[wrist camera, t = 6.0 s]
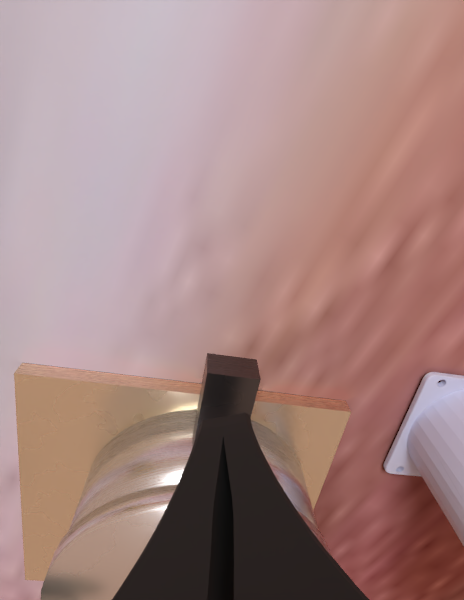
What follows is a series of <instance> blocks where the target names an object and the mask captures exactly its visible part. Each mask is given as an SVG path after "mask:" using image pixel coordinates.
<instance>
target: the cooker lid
mask: <svg viewBox="0 0 464 600" xmlns="http://www.w3.org/2000/svg"><path fill="white" fill-rule="evenodd" d="M176 487H177V485H169V486H162V487H155V488H150V489H146V490H142V491H139V492H135V493H131V494H128V495H126V496H123V497H120V498H118V499H115V500H113V501H111V502H109V503H107V504H105V505H103V506H101V507H99V508H97V509H95V510H94V511H92V512H91V513H89V514H88V515H86V516H85V517H83V518H82V519H81V520H80V521H78V522H77V523H76V524H75V525H74V526H73V527H72V528H71V529H70V530H69V531H68V532H67V533H66V535H65V536H64V537H63V538H62V540H61V541H60V543H59V545H58V547H57V548H56V550H55V552H54V555H53V558H52V561H51V563H50V566H49V569H48V572H47V574H46V577H45V580H44V583H43V587H42V590H41V600H112V599H113V597H114V596H115V594H116V593H117V591H118V590H119V588H120V587H121V585H122V584H123V582H124V581H125V579H126V577H127V576H128V574H129V573H130V571H131V570H132V568H133V566H134V565H135V563H136V562H137V560H138V559H139V557H140V555H141V554H142V552H143V550H144V548H145V547H146V545H147V543H148V542H149V540H150V538H151V536H152V535H153V533H154V531H155V529H156V527H157V525H158V524H159V522H160V520H161V518H162V516H163V514H164V512H165V510H166V508H167V506H168V504H169V502H170V500H171V498H172V495H173V493H174V491H175V489H176ZM298 513H299V514H300V516H301V517H302V518H303V520H304V521H305V523H306V524H307V525H308V527H309V528H310V530H311V531H312V532H313V533H314V535H315V536H316V537H317V539H318V540H319V541H320V543H321V544H322V545H323V547H324V548H325V549H326V550H327V552H328V553H329V554H330V550H329V547H328V545H327V543H326V541H325V539H324V537H323V535H322V534H321V532H320V531H319V530H318V529H317V527H316V526H315V525H314V524H313V523H312V522H311V521H310V520H309V519H308V518H306V517H305V516H304V515H303V514H302V513H300V512H299V511H298ZM330 555H331V554H330Z"/></svg>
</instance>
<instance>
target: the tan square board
mask: <svg viewBox="0 0 464 600" xmlns="http://www.w3.org/2000/svg"><path fill="white" fill-rule="evenodd" d="M14 379H15V398H16V416H17V435H18V453H19V472H20V490H21V509H22V528H23V546H24V565H25V580H40V581H44V580H45V577H46V574H47V572H48V569H49V566H50V563H51V561H52V558H53V555H54V552H55V550H56V548H57V547H58V545H59V543H60V541H61V540H62V538H63V537H64V536H65V535H66V533H67V532H68V531H69V530H70V529H71V528H72V527H73V526H74V525H75V524H76V523H77V522H78V521H80V520H81V519H82V518H83V517H85V516H86V515H88V514H89V513H91V512H92V511H94V510H95V509H97V508H99V507H101V506H103V505H105V504H107V503H109V502H111V501H113V500H115V499H118V498H120V497H123V496H126V495H128V494H131V493H135V492H139V491H142V490H146V489H150V488H155V487H162V486H169V485H178V483H179V480H180V478H181V475H182V473H183V471H184V468H185V466H186V464H187V461H188V459H189V456H190V453H191V451H192V448H193V445H194V442H195V439H196V436H197V433H198V430H199V427H200V424H201V422H202V421H203V420H207V419H213V418H218V417H224V416H229V415H235V414H240V413H247V414H249V415H250V418H251V423H252V427H253V431H254V433H255V436H256V438H257V441H258V443H259V445H260V448H261V450H262V452H263V454H264V456H265V458H266V460H267V462H268V464H269V465H270V467H271V469H272V471H273V473H274V475H275V476H276V478H277V480H278V482H279V483H280V485H281V487H282V488H283V490H284V491H285V493H286V495H287V496H288V498H289V499H290V501H291V502H292V504H293V505H294V507H295V508H296V510H297V511H299V512H300V513H302V514H303V515H304V516H305V517H306V518H308V519H309V520H310V521H311V522H312V523H313V524H314V525H315V526H316V527H317V524H316V520H315V516H314V512H313V510H314V507H315V505H316V502H317V499H318V497H319V494H320V492H321V489H322V486H323V484H324V481H325V479H326V476H327V473H328V471H329V468H330V466H331V463H332V460H333V458H334V455H335V453H336V450H337V447H338V445H339V442H340V440H341V437H342V434H343V432H344V429H345V427H346V424H347V421H348V419H349V416H350V414H351V411H350V409H349V407H348V405H347V402H346V401H342V400H333V399H325V398H316V397H308V396H299V395H291V394H282V393H274V392H266V391H258V387H259V383H260V375H259V370H258V365H257V360H255V359H247V358H240V357H232V356H224V355H216V354H208V353H207V358H206V364H205V369H204V374H203V380H202V384H198V383H190V382H181V381H173V380H164V379H156V378H147V377H139V376H130V375H122V374H113V373H105V372H97V371H88V370H80V369H71V368H63V367H54V366H46V365H37V364H29V363H22V364H21V365H20V366H19V368H18V369H17V370H16V372H15V373H14ZM317 529H318V527H317Z"/></svg>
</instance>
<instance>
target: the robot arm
mask: <svg viewBox="0 0 464 600" xmlns="http://www.w3.org/2000/svg"><path fill="white" fill-rule="evenodd" d="M440 380H442V381H441V382H439V381H440ZM438 382H439V383H438ZM383 466H384V469H385V471H386V472H387V473H390V474H400V475H411V476H421V477H422V478H423V479H424V481H425V483H426V484H427V486H428V488H429V489H430V491H431V493H432V494H433V496H434V498H435V499H436V501H437V503H438V504H439V506H440V508H441V509H442V511H443V513H444V514H445V516H446V518H447V519H448V521H449V523H450V524H451V526H452V528H453V529H454V531H455V533H456V534H457V536H458V538H459V540H460V541H461V543H462V545H463V546H464V376H461V375H453V374H446V373H438V372H430V373H427V374H426V375H425V376H424V377H423V379H422V381H421V384H420V386H419V388H418V390H417V392H416V395H415V397H414V399H413V401H412V403H411V405H410V408H409V410H408V412H407V414H406V416H405V419H404V421H403V423H402V425H401V427H400V429H399V432H398V434H397V436H396V438H395V440H394V443H393V445H392V447H391V449H390V451H389V453H388V456H387V458H386V460H385V462H384V465H383ZM112 600H369V599H368V598H367V597H366V596H365V595H364V594H363V592H362V591H361V590H360V589H359V588H358V587H357V586H356V585H355V584H354V582H353V581H352V580H351V579H350V578H349V576H348V575H347V574H346V573H345V572H344V571H343V569H342V568H341V567H340V566H339V565H338V563H337V562H336V561H335V560H334V559H333V558H332V556H331V555H330V554H329V553H328V552H327V550H326V549H325V548H324V547H323V545H322V544H321V543H320V541H319V540H318V539H317V537H316V536H315V535H314V533H313V532H312V531H311V530H310V528H309V527H308V525H307V524H306V523H305V521H304V520H303V518H302V517H301V516H300V514H299V513H298V511H297V510H296V508H295V507H294V505H293V504H292V502H291V501H290V499H289V498H288V496H287V495H286V493H285V491H284V490H283V488H282V487H281V485H280V483H279V482H278V480H277V478H276V476H275V475H274V473H273V471H272V469H271V467H270V465H269V464H268V462H267V460H266V458H265V456H264V454H263V452H262V450H261V448H260V445H259V443H258V441H257V438H256V436H255V433H254V431H253V427H252V423H251V418H250V415H249V414H247V413H240V414H235V415H229V416H224V417H218V418H213V419H207V420H203V421H202V422H201V424H200V427H199V430H198V433H197V436H196V439H195V442H194V445H193V448H192V451H191V453H190V456H189V459H188V461H187V464H186V466H185V468H184V471H183V473H182V475H181V478H180V480H179V483H178V485H177V487H176V489H175V491H174V493H173V495H172V498H171V500H170V502H169V504H168V506H167V508H166V510H165V512H164V514H163V516H162V518H161V520H160V522H159V524H158V525H157V527H156V529H155V531H154V533H153V535H152V536H151V538H150V540H149V542H148V543H147V545H146V547H145V548H144V550H143V552H142V554H141V555H140V557H139V559H138V560H137V562H136V563H135V565H134V566H133V568H132V570H131V571H130V573H129V574H128V576H127V577H126V579H125V581H124V582H123V584H122V585H121V587H120V588H119V590H118V591H117V593H116V594H115V596H114V597H113V599H112Z"/></svg>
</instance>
